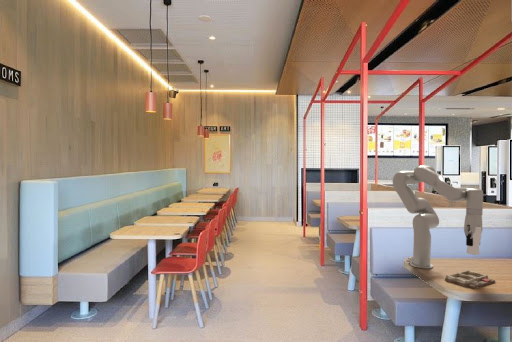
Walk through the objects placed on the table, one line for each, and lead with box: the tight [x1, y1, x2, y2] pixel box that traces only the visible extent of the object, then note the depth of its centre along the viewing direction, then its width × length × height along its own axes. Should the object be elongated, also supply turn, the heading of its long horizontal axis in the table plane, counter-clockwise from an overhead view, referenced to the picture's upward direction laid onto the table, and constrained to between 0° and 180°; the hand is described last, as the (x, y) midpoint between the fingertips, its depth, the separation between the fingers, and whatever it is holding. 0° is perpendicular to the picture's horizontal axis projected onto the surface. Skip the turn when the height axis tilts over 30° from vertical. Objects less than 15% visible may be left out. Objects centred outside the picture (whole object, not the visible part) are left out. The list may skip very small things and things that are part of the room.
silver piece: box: [466, 226, 482, 256], centre depth 195 cm, size 7×7×15 cm
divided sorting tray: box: [444, 270, 496, 290], centre depth 191 cm, size 15×21×3 cm
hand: (473, 244), depth 195 cm, fingers closed on silver piece, 6 cm apart
